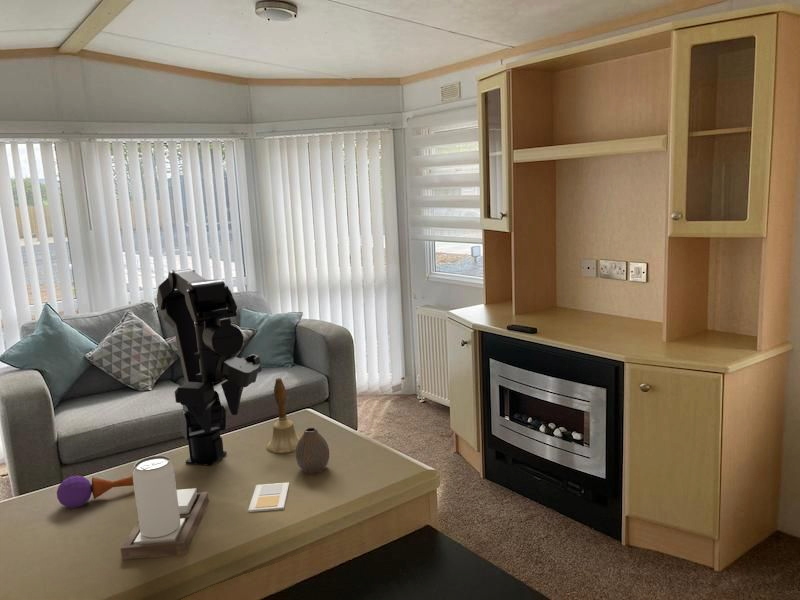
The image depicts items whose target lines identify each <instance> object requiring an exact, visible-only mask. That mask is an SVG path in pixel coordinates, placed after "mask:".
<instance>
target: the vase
mask: <svg viewBox="0 0 800 600" xmlns="http://www.w3.org/2000/svg"><path fill="white" fill-rule="evenodd" d="M299 438H300V440H299V441H298V443H297V446H296V451H294V452H295V453H294V454H295V460H296V463H297V466H298V468H299V469H301V470H302V471H303V472H304V473H306V474H309V475H310V474H311V475H313V474H318V473H320V472H322V471H324V470H325V468H326V467H327V466H328V463H329V460H330V448H329V444H328V443H327V440H326V439H325V438H324V437H323V436H322V435H321V434H320V433H319V431H318V429H317V428H316V427H307V428H305V429H304V430H303V434H302V436H301V437H299Z"/></svg>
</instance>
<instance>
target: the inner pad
mask: <svg viewBox="0 0 800 600" xmlns="http://www.w3.org/2000/svg"><path fill="white" fill-rule="evenodd" d="M176 490H177V497H178V505H179V514H180V515H187V514H189V513H190V511H191V509H192V506H193V503H194V501H195V499H196V497H197V493H198V492H197V491H198V490H197V488H184V489H183V488H182V489H176Z"/></svg>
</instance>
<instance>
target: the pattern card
mask: <svg viewBox="0 0 800 600" xmlns="http://www.w3.org/2000/svg"><path fill="white" fill-rule="evenodd" d="M289 488H290V482H289V481H288V482H278V483H266V484H264V483H263V484H256V485H255V487H254V491H253V494H252V498H251V501H250V504H249V507H248V510H247V512H248V513H254V512H267V511H268V512H269V511H277V510H278V511H281V510H284V509H285V506H286V501H287V497H288V491H289Z"/></svg>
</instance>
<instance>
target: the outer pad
mask: <svg viewBox="0 0 800 600" xmlns="http://www.w3.org/2000/svg"><path fill="white" fill-rule="evenodd" d="M185 524H186V520H185V518H181V519H180V526H179V527H178V529H177V530H176V531H175V532H173V533H172V534H170V535H167V536H164V537H161V538H147V537H144V536H143V535H142V534H141V533H139V534H138V536H137V538H136V539H135V541H134V545H136V544H147V543H159V542H171V541H177V540H178V538H179V536H180V534H181V532H182V530H183V528H184V526H185Z"/></svg>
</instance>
